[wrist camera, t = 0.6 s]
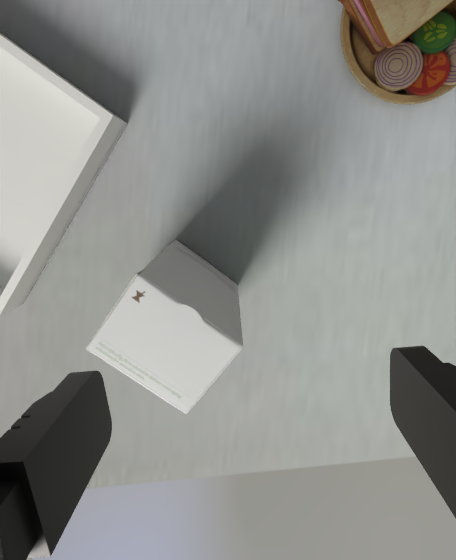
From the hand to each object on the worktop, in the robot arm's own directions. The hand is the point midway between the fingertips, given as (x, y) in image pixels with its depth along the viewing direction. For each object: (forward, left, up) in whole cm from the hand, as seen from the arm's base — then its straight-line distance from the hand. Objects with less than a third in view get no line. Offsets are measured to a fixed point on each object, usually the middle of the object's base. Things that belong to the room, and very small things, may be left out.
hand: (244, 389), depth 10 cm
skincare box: (+5, -5, -28) cm, 29 cm away
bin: (-5, -25, -28) cm, 37 cm away
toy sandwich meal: (-20, +12, -28) cm, 37 cm away
